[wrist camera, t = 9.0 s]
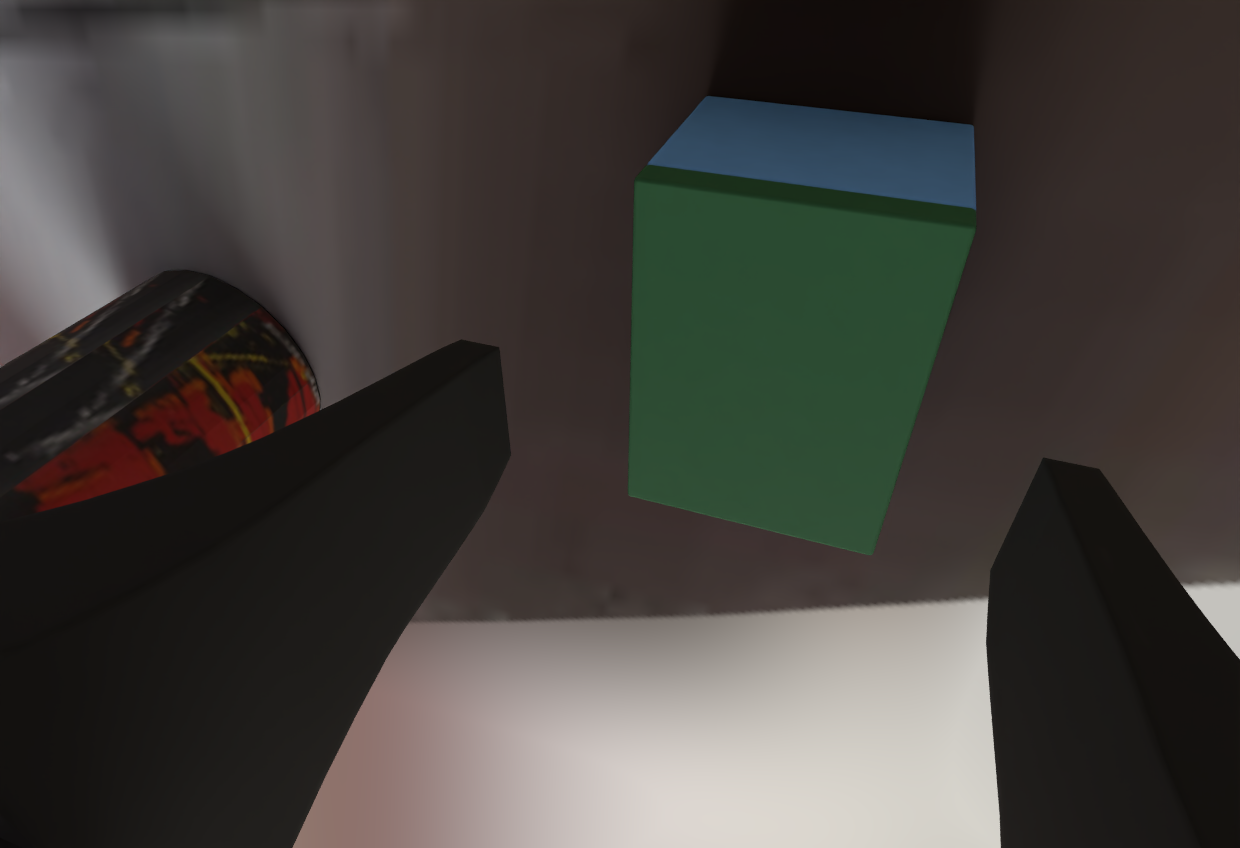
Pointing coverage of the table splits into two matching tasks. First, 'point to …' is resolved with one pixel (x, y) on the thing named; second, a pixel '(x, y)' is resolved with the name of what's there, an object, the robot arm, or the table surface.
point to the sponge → (791, 310)
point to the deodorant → (145, 392)
